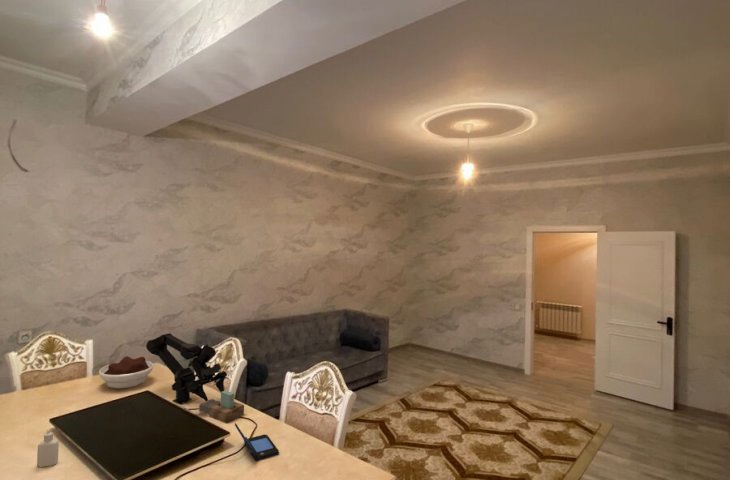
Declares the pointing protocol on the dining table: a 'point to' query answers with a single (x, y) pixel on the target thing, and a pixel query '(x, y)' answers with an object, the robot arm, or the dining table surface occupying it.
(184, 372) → the robot arm
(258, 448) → the handheld game console
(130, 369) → the bowl of chocolate mousse
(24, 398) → the dining table surface
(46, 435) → the eye dropper bottle
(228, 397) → the block
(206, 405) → the plate
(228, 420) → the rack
